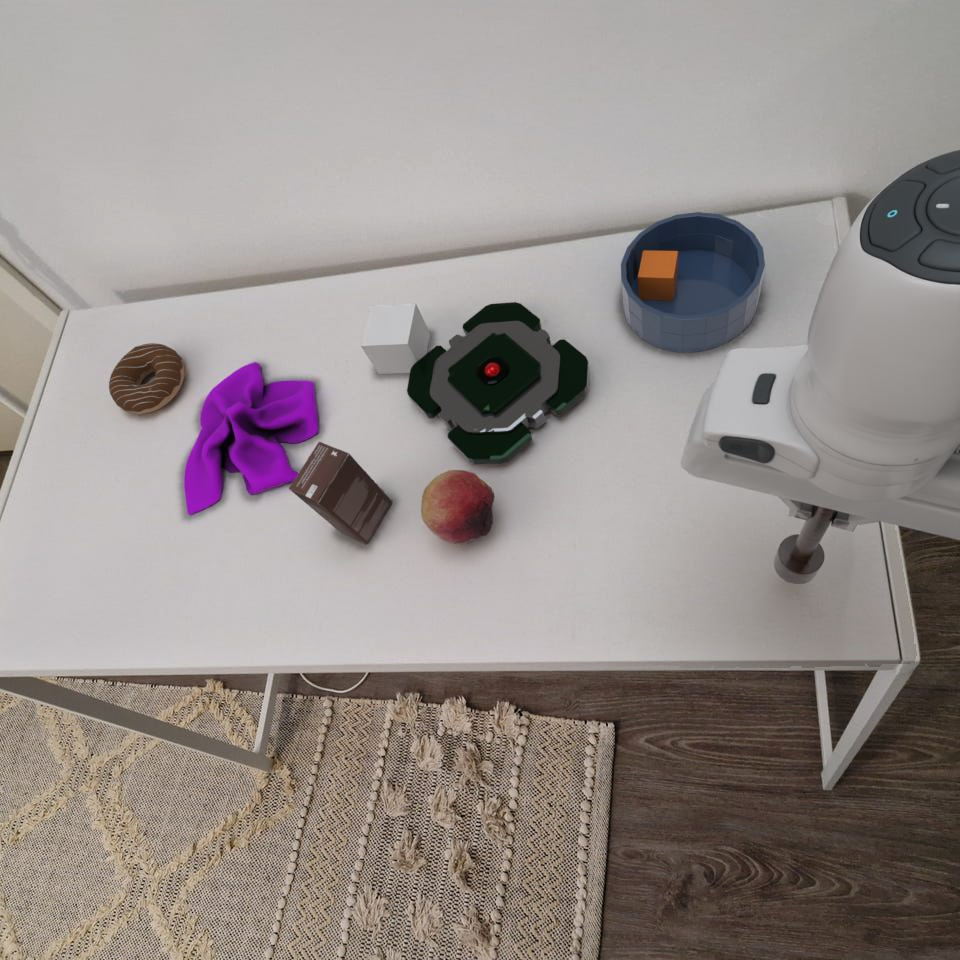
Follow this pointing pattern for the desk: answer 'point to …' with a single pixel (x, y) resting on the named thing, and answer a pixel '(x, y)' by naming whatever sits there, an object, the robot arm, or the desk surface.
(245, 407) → the cloth
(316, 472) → the box
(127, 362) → the donut
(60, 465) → the desk surface
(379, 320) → the white cube
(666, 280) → the block
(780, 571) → the stirrer
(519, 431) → the flat green button pad
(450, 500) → the fruit
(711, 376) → the desk surface
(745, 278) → the bowl
